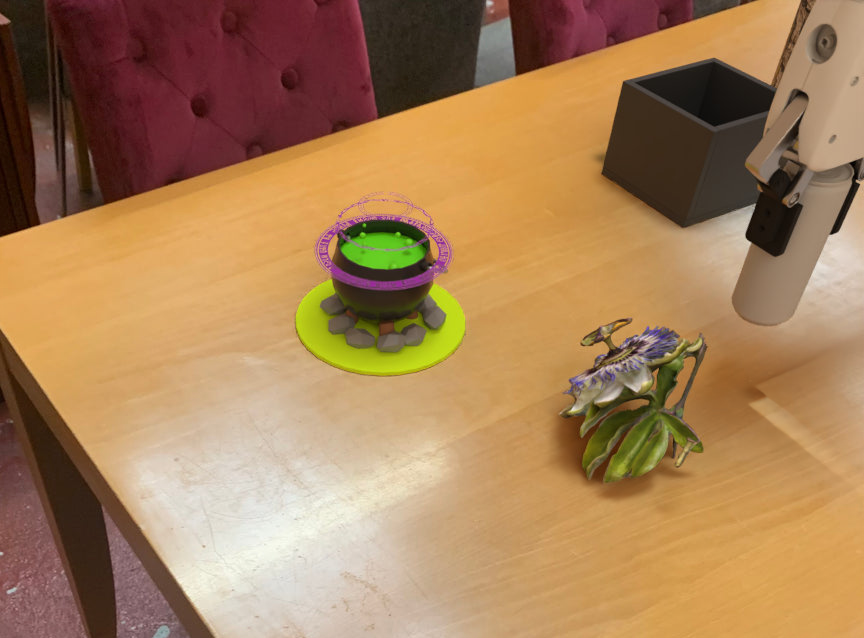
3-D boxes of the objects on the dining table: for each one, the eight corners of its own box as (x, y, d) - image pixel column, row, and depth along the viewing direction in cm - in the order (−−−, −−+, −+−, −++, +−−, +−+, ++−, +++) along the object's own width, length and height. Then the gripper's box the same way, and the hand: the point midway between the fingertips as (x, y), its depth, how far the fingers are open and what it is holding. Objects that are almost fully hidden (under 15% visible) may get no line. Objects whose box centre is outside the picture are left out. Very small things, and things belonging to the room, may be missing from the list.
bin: (687, 147, 101) (714, 57, 94) (772, 197, 94) (809, 103, 86) (601, 173, 97) (622, 80, 89) (683, 227, 89) (714, 131, 82)
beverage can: (766, 337, 68) (828, 191, 59) (715, 307, 71) (767, 162, 62) (805, 314, 70) (871, 170, 61) (754, 286, 72) (810, 142, 63)
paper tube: (751, 150, 101) (845, -113, 82) (753, 124, 105) (843, -131, 86) (814, 160, 99) (925, -105, 80) (814, 134, 103) (919, -124, 85)
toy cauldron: (496, 309, 80) (514, 194, 72) (407, 399, 71) (417, 281, 63) (357, 255, 85) (359, 143, 77) (260, 333, 77) (251, 216, 69)
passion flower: (572, 460, 75) (607, 317, 72) (705, 494, 69) (748, 340, 67) (525, 468, 65) (563, 302, 62) (675, 508, 60) (724, 329, 57)
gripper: (858, 5, 47) (744, 297, 60) (1057, -51, 52) (911, 228, 66) (750, -38, 51) (667, 244, 65) (944, -85, 56) (830, 184, 70)
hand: (791, 233), depth 65 cm, fingers closed on beverage can, 4 cm apart
